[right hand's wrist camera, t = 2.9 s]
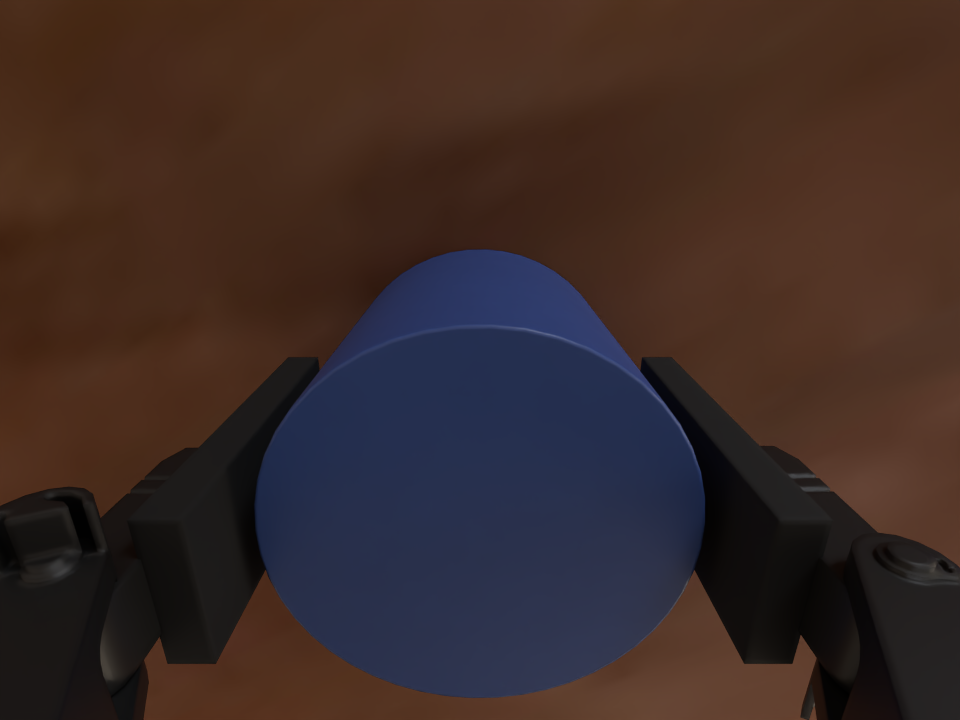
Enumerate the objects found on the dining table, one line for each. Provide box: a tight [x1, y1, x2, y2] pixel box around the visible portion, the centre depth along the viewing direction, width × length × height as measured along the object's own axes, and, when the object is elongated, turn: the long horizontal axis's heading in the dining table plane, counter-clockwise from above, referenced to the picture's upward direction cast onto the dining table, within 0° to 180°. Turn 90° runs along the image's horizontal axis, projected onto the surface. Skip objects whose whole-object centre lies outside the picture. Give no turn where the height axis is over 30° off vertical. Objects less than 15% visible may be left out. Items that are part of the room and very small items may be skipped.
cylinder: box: [254, 250, 705, 698], centre depth 12 cm, size 8×8×7 cm
